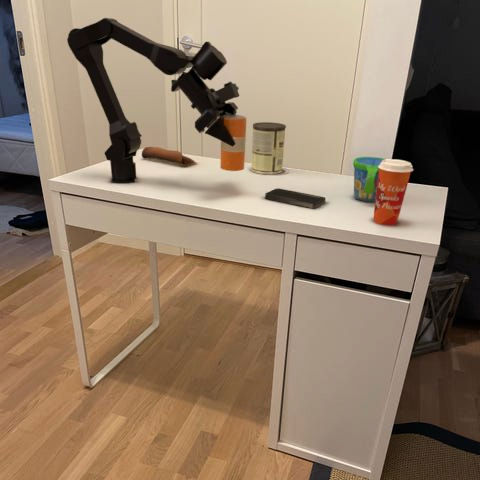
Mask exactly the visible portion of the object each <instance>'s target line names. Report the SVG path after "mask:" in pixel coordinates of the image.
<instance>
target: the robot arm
mask: <svg viewBox="0 0 480 480" xmlns="http://www.w3.org/2000/svg"><path fill="white" fill-rule="evenodd" d="M111 40H113V41H115V42H117V43H119V44H121V45H122V46H124V47H126V48H128V49H130V50H132V51H134V52H136V53H137V54H139V55H141V56H143V57H144V58H146V59H147V60H149V61H150V63H151V64H152V65H153V66H154V67H155V68H156V69H158V70H159V71H161V72H162V73H163V74H164V75H166V76H177V75H179V76H178V78H176V79H171V80H170V81H171V88H170V91H171V92H172V93H175V92H179V91H180V90H181V92H182V93H183V94H184V96H185V97H186V98H187V100H189V102H190V104H191V105H190V107H191V109H193V110H197V112H198V113H199V114H200V115H199V117H198V118H197V119H196V120H195V121H194V129H195V130H196V131H197V132H198V133H199V134H202V133H204V134H205V135H208V136H210V137H212V138H215V139H217V140H219V141H220V142H221V141H222V142H224V143H226V144H228V145H230V146H232V147H233V146H234V145H235V144H236V143H235V141H234V140H233V138H232V136H231V135H230V133H229V131H228V130H227V128H226V127H225V125H224V115H237V113H238V112H237V110H239V107H238V106H237V105H236V102H234V101H233V102H232V101H230V100H232V99H235V98H236V99H237V98H238V97H240V93H239V86H238V85H237V84H236V83H233V82H232V81H228V82H226V83H224V84H223V87H222V88H219V89H217V90H216V89H215V88H212V87H211V88H210V87H209V86H208V85H207V84H206V83H205V81H207V80H209V81H212V80H213V79H214V78H215V77H216V76H217V75H218V74H219V73H220V72H221V71H222V70H223V68H224V67H225V66H226V65H227V63H228V61H227V59H226V57H225V55H224V54H223V52H221V51H220V50H219V49H218V48H216V47H215V46H214V45H212V43H211V42H210V41H204V43H203V44H201V45H202V46H201V47H200V49H199V50H198V51H197V52H196V53H195V54H194V55H193V56H190V55H188V54H186V52H185V51H184V50H182V49H181V48H180V49H179V48H178V47H177V48H176V47H173V46H171V45H166V44H163V43H159V42H156V41H154V40H152V39H150V38H149V37H147V36H145V35H143V34H141V33H139V32H138V31H135V30H133V29H132V28H130V27H128V26H126V25H124V24H122V23H120V21H118V20H117V19H114V18H110V17H104V18H102V19H100V20H98V21H96V22H94V23H91V24H88V25H86V26H83V27H81V28H77V27H75V28H72V29H71V30H70V31H69V32H68V35H67V39H66V41H67V45H68V47H69V50H70V51H71V52H72V54H73V56H74V57H75V59H76V60H77V61H78V62H79V64H81V66H82V67H83V68H84V69H85V71H86V72H87V75H88V77H89V80H90V82H91V84H92V87H93V89H94V92H95V94H96V96H97V98H98V101H99V103H100V106H101V108H102V110H103V113H104V115H105V117H106V121H107V122H108V131H109V132H108V134H109V135H108V137H109V140H110V144H111V145H109V147H108V148H107V149H106V150H105V151H104V156H105V158H106V161H108V162H109V163H110V171H111V179H110V180H111V181H110V182H111V183H135V180H137V165H136V162H135V161H134V157H136V156H137V153H138V150H139V149H141V145H142V139H141V138H142V137H143V136H142V134H141V133H140V131H139V129H138V125H137V123H136V122H135V121H132V122H130V121H129V120H128V119H127V118H126V115H125V113H124V110H123V108H122V105H121V103H120V100H119V99H118V96H117V93H116V91H115V88H114V86H113V84H112V81H111V78H110V77H109V74H108V72H107V70H106V67H105V64H104V49H103V45H105V44H107V43H108V42H110V41H111ZM187 69H189V70H188V71H186V70H187ZM227 101H228V102H227Z"/></svg>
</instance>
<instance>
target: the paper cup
mask: <svg viewBox="0 0 480 480" xmlns="http://www.w3.org/2000/svg"><path fill="white" fill-rule="evenodd" d="M385 159H386V160H383V161H382V162H381V163H380V165H379V166H378V168H379V174H378V182H377V192H376V200H375V202H374V209H373V219H372V220H373V222H374V223H375V224H378V225H382V226H395V225H396V224H397V223H398V220H399V217H400V214H401V210H402V207H403V202H404V199H405V195H406V191H407V188H408V185H409V181H410V176H411V173H412V172H413V171H414V168H413V165H412V163H411V162H410V161H407V160H403V159H395V158H394V159H393V158H392V159H391V158H388V159H387V158H385Z"/></svg>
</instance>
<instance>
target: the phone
mask: <svg viewBox="0 0 480 480" xmlns="http://www.w3.org/2000/svg"><path fill="white" fill-rule="evenodd" d="M264 198H265V199H266V200H271V201H276V202H281V203H285V204H290V205H295V206H299V207H305V208H309V209H317V208H318V207H320V206H322V205H324V204H325V203H326V197H325V196H320V195H315V194H311V193H304V192H301V191H295V190H291V189H290V190H289V189H284V188H274V189H272V190H270V191H267V192H265V195H264Z"/></svg>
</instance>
